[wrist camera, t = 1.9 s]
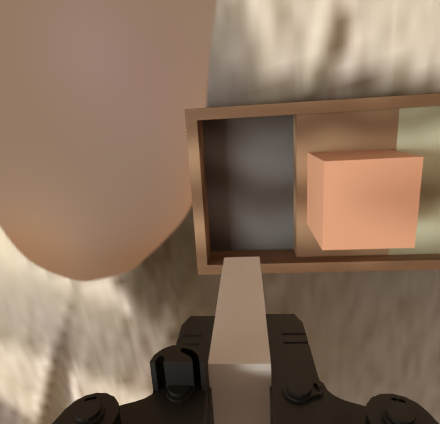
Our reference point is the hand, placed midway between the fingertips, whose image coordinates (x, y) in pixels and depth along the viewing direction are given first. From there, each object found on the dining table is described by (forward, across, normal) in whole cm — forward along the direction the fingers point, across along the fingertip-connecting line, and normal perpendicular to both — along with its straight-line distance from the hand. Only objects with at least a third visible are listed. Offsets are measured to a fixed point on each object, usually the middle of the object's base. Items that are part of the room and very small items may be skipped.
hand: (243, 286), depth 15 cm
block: (+19, +10, 0) cm, 22 cm away
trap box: (+22, +16, 0) cm, 27 cm away
